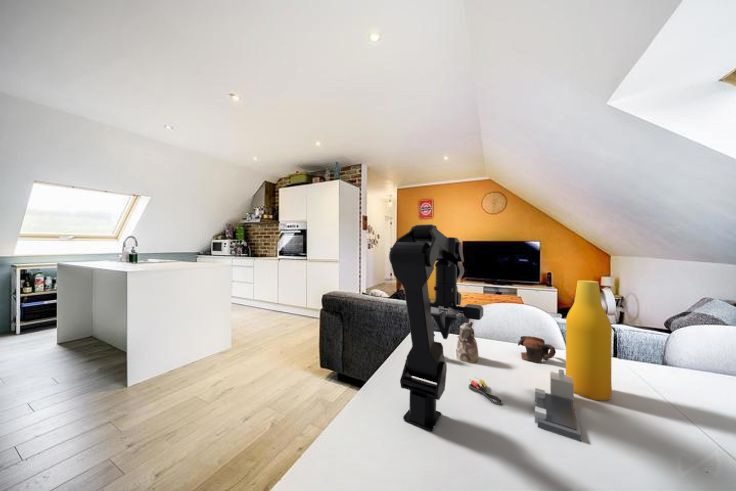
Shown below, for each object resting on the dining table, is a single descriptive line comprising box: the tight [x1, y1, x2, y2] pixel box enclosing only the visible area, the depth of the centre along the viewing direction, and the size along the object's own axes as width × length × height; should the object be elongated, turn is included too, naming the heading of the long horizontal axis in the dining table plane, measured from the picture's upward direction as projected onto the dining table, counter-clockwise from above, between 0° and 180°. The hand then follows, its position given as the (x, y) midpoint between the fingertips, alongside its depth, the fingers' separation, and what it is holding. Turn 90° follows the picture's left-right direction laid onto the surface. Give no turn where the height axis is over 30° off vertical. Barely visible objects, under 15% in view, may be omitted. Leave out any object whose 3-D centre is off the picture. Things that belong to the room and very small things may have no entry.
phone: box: [534, 387, 582, 442], centre depth 57 cm, size 14×8×2 cm, turn 147°
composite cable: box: [468, 376, 503, 406], centre depth 65 cm, size 10×5×2 cm, turn 9°
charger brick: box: [549, 368, 575, 405], centre depth 64 cm, size 4×4×7 cm
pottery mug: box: [517, 335, 557, 364], centre depth 87 cm, size 12×10×8 cm
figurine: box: [455, 321, 479, 364], centre depth 87 cm, size 7×7×12 cm
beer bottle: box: [565, 279, 613, 402], centre depth 67 cm, size 9×9×29 cm
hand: (445, 338), depth 71 cm, fingers closed
